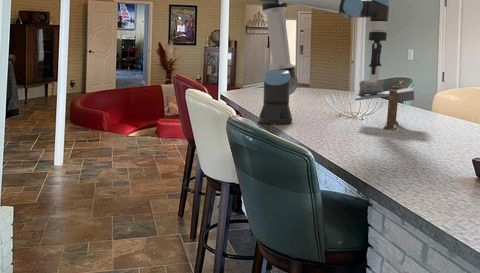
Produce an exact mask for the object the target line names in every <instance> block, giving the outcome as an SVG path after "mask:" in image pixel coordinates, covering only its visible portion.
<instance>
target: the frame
mask: <svg viewBox="0 0 480 273" xmlns="http://www.w3.org/2000/svg"><path fill="white" fill-rule="evenodd" d="M397 90H400V86H395V85H393V86H391V89H389V90H388V91H389V96H388V104H387V105H388V106H387V115H386V123H385V124H384V127H383V130H387V131H396V130H397V127H398V125H399V120H397V116H398V103H399V102H396V98H397Z"/></svg>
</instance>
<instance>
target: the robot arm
mask: <svg viewBox="0 0 480 273" xmlns="http://www.w3.org/2000/svg"><path fill="white" fill-rule="evenodd" d="M258 1H259V2H260V3H261V8H262V9H261V10H262V12H263V13H264V14H265V15H266V22H267V29H268V30H267V31H268V38H269V39H268V40H269V46H270V54H271V55H270V56H271V62H272V66H271V67H270V70H266V72H265V73H264V76H263V105H262V108H261V111H260V112H259V116H258V122H259V123H261V124H267V125H269V124H268V123H276V124H275V125H286V124H285V123H290V124H292V123H293V116H292V113H291V108H290V95H292V94H294V92H295V91H296V90H297V88H298V84H299V80H298V77H297V75H296V71H295V66H294V65H293V64H292V63H291V56H290V47H289V40H288V38H289V37H288V31H287V23H286V21H287V20H286V11H287V9H288V4H289V5H293V6H294V5H296V6H300V7H305V8H309V9H310V8H311V9H315V10H321V11H327V12H331V13H335V14H336V13H337V14H341V15H342V16H343V17H344V18H346V19H347V18H349V19H352V18H354V19H356V18H358V19H359V18H367V19H368V18H369V19H370V20H369V29H368V30H369V33H368V41H371V42H373V43H372V45H371V57H370V58H371V59H370V64H369V65H368V67H369V68H370V73H369V80H370V82H376V80H380V79H379V76H380V67H382V63H381V53H382V47H383V46H382V43H381V42H386V41H387V37H388V33H387V31H388V27H389V26H390V24H389V23H388V21H389V11H390V0H258ZM291 122H292V123H291Z"/></svg>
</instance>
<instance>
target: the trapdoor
mask: <svg viewBox="0 0 480 273" xmlns="http://www.w3.org/2000/svg"><path fill="white" fill-rule="evenodd" d="M385 97H389V90H387V91H386V90H384V91H383V92H382V93H377V94H373V95H369V94H367V95H364V96H356V97H355V101H362V100H363V101H365V100H372V99H378V98H385ZM414 100H415V91H414V87H407V88H401V89H400V88H399V90H397V98H396V102H398V103H401V102H408V101H409V102H410V101H414Z"/></svg>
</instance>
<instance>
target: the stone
mask: <svg viewBox="0 0 480 273" xmlns="http://www.w3.org/2000/svg"><path fill="white" fill-rule="evenodd" d="M384 83H385V81H384V80H383V79H379V80H376V82H370V79H369V80H368V79H367V80H361V81H359V91H358V93H357V95H358V96H364V95H367V94H369V95H373V94H377V93H382V92H385V90H384ZM358 96H357V97H358Z"/></svg>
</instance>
